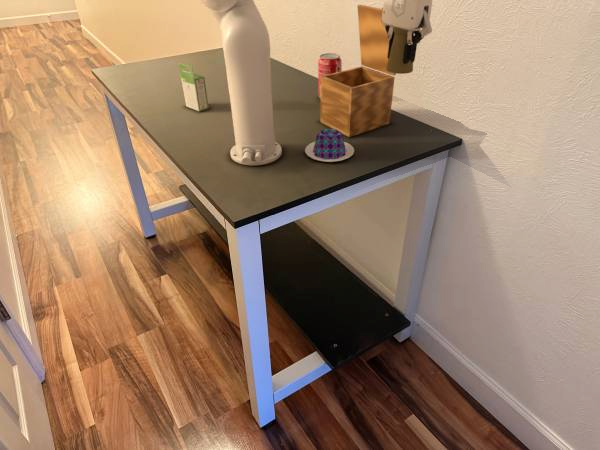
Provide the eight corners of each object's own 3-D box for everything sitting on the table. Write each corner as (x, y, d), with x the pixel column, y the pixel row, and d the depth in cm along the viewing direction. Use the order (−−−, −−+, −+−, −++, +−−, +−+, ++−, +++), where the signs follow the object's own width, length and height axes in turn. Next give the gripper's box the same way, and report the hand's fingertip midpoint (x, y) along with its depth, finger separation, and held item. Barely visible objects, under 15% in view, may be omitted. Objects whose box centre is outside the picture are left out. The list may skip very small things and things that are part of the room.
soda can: (339, 102, 129) (340, 59, 122) (316, 101, 131) (316, 58, 123) (342, 95, 135) (343, 52, 127) (320, 93, 136) (320, 52, 128)
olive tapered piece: (416, 68, 97) (425, 16, 90) (407, 75, 92) (414, 21, 86) (392, 64, 99) (398, 13, 93) (381, 71, 95) (387, 18, 89)
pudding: (351, 141, 107) (352, 122, 104) (356, 163, 97) (357, 143, 94) (304, 142, 107) (304, 123, 104) (305, 165, 98) (305, 144, 94)
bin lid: (392, 12, 97) (411, 4, 99) (357, 5, 106) (374, -2, 108) (393, 75, 108) (410, 67, 110) (361, 64, 116) (377, 57, 118)
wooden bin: (349, 137, 109) (351, 88, 102) (320, 122, 118) (320, 76, 110) (389, 123, 116) (394, 77, 108) (359, 110, 124) (362, 66, 116)
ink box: (209, 108, 128) (202, 63, 120) (199, 112, 126) (191, 66, 118) (196, 103, 132) (188, 59, 124) (185, 106, 129) (177, 62, 121)
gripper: (371, -37, 88) (363, 54, 98) (432, -30, 76) (416, 72, 87) (396, -39, 91) (386, 50, 102) (459, -33, 80) (440, 66, 91)
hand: (400, 59), depth 94 cm, fingers closed on olive tapered piece, 4 cm apart
